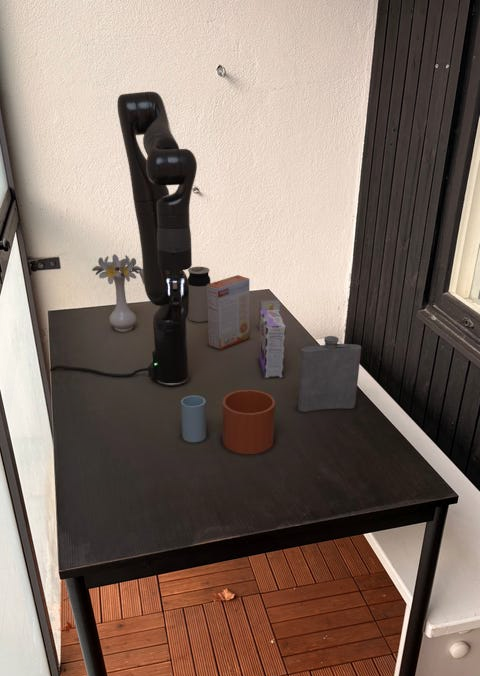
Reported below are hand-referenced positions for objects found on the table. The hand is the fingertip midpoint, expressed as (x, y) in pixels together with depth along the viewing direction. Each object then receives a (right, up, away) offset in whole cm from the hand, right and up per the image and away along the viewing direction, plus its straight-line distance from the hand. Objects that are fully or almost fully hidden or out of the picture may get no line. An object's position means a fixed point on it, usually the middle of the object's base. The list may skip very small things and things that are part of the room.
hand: (177, 315), depth 152 cm
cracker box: (+11, +2, +63) cm, 64 cm away
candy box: (+24, -9, +46) cm, 52 cm away
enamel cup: (+3, -29, +10) cm, 31 cm away
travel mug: (0, +13, +82) cm, 82 cm away
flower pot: (+17, -30, +9) cm, 35 cm away
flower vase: (-25, +8, +73) cm, 78 cm away
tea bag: (+25, +8, +74) cm, 79 cm away
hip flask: (+38, -21, +24) cm, 50 cm away
